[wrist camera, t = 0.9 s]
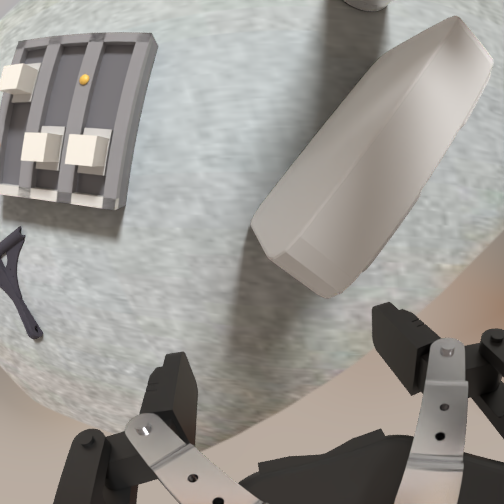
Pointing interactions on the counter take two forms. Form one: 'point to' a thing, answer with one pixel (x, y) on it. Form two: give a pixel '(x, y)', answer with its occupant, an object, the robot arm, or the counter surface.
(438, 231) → the counter surface
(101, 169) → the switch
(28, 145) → the switch middle
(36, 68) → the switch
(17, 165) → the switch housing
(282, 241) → the grey block
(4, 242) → the bracket
